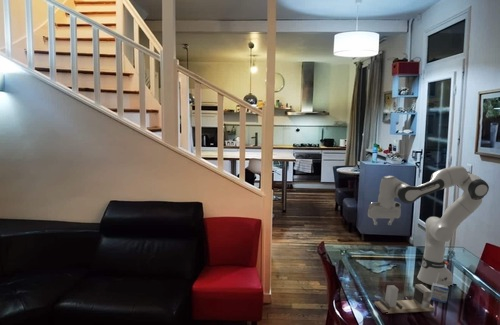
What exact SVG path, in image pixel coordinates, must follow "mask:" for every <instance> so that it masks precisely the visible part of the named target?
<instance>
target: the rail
mask: <svg viewBox="0 0 500 325" xmlns="http://www.w3.org/2000/svg"><path fill="white" fill-rule="evenodd" d="M431 294H432V291H431V289H429V288H428V287H426V286H425V285H424V284H422V283H417V284H415V285H414V289H413V296H412V299H402V300H400V299H399V300H398V299H397V303H396V307H390V306H389V305H388V304H387V303H386V302H385V299H383V298H379V300H378V301H373V305H374V304H375V305H376V306H377V307H379V308H380V309H381V310H382V311H383V312H388V313H387V314H399V313H400V314H401V313H402V314H403V313H418V312H422V313H423V312H434V310H435V307H434V306H433V305H432V304H431V301H432V300H431Z"/></svg>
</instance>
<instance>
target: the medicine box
mask: <svg viewBox="0 0 500 325" xmlns="http://www.w3.org/2000/svg"><path fill="white" fill-rule="evenodd" d="M430 291H432V294H431V300H430V301H433V302H439V303H443V304H447V302H448V295H449V291H450V288H449V286H445V285H441V284H436V283H432V285H431V289H430Z"/></svg>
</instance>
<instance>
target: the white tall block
mask: <svg viewBox="0 0 500 325" xmlns="http://www.w3.org/2000/svg"><path fill="white" fill-rule="evenodd" d="M398 296H399V288H398V287H397V286H395V284H393V285H391V284H390V285H389V284H388V285H386V292H385V298H384V301H385V302H386V303H387V304H388V305H389V306H390V307H396V303H397V300H398Z"/></svg>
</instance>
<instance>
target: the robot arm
mask: <svg viewBox="0 0 500 325" xmlns="http://www.w3.org/2000/svg"><path fill="white" fill-rule="evenodd" d="M455 186H457V187H458V188H460V189H461V190H462V194H461V195H460V196H459V197H458V198H456V200H454V201H453V202H452V203H451V204H450V205H449V206H447V207H446V209H445V210H444V213H443V214H442V216H441V217H438V216H429V217H428V218H427V219H426V220H425V236H424V237H425V238H424V240H425V242H424V243H425V244H424V252H423V255H422V258H421V267H420V269H419V271H418V274H417V277H416V279H417V280H419V281H421V283H424V284H427V285H429V286H432V283H436V284H441V285H445V286H448V287H451V286H450V285H452V279H453V278H454V277H453V276H454V275H453V273H452V272H451V270H449V268H447V267H446V266H449V265H450V263H449V261H445V260H444V258H445V252H446V244H445V243H447V242H449V241H451V240H452V238H453V235H454V234H455V232H456V230H457V229H458V227H459V226H460V225H461V224H462V223H463V222H464V221H465V220H466V219H467V218H469V217H470V216H471V215H472V214H473V213H474V212H475V211H476V210H477V209H478V208H479V207H480V206H481V205H482V203H483V198H484V197H485V196H487V194H488V192H489V190H490V185H489V184H488V183H487V181H485V180H484V179H482V178H481V177H479V176H477V175H475V174H473V173H472V172H470V171H468V170H467V169H466V168H465V167H464V166H462V165H456V166H450V167H445V168H442V169H439V170H436V171H434V172H432V174H431V176H430V180H429V181H427V182H425V183H422V184H419V185H417V186H415V185H414V186H413V185H410V184H407V183H406V182H404V181H402V180H400V179H398V178H397V177H396V176H394V175H385V176H383V177H382V178H381V180H380V184H379V189H378V190H379V194H378V196H377V197H378V198H377V202H371V203H369V205H368V208H367V209H368V210H367V217H368V218H370V219H372V222H373V225H374V226H378V224H379V223H378V221H377V220H378V219H389V221H387V225H388V226H392V223H393V222H394V220H395V219H399V218H401V214H402V213H401V212H402V209H401V206H402V204H401V203H404V204H406V205H410V204H413V203H415V202H416V201H417V200H419V199H420V198H422V197H425V196H428V195H430V194H433V193H435V192H438V191H441V190H443V189H444V190H445V189H447V188H451V187H455ZM395 198H397V199H399V200H400V201H401V203H400V202H398V201H396V200H395ZM453 280H454V279H453ZM452 286H453V285H452Z"/></svg>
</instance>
